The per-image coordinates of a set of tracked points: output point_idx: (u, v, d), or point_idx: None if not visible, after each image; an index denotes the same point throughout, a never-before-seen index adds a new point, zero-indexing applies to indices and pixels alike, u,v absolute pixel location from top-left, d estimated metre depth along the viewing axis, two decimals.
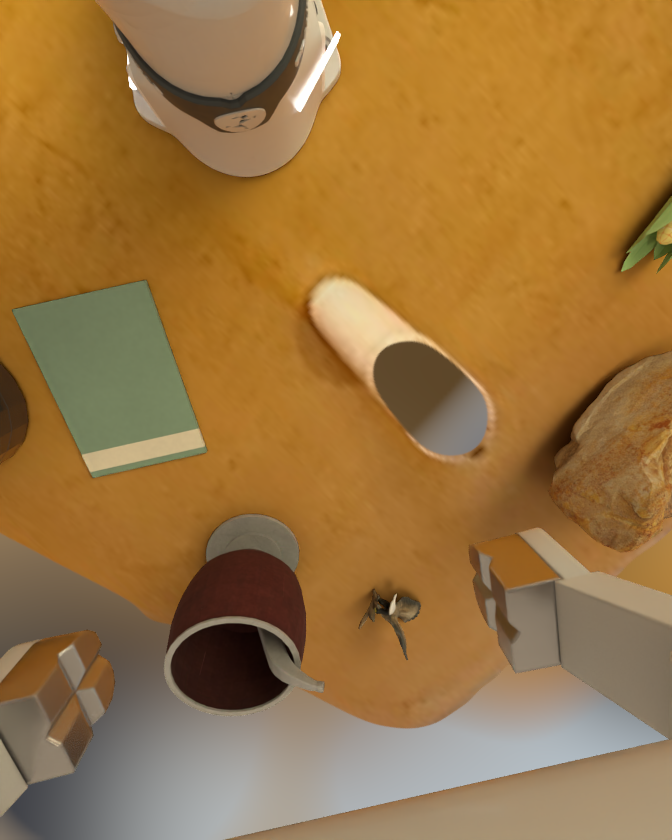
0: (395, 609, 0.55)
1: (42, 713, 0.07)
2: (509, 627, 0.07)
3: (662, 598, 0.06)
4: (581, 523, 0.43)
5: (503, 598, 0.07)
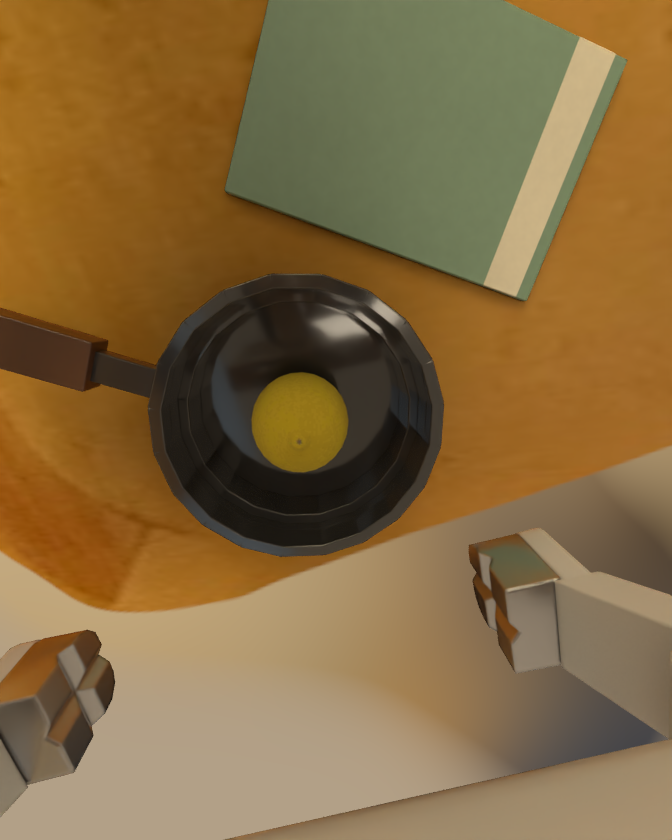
0: None
1: (42, 713, 0.07)
2: (509, 627, 0.07)
3: (662, 598, 0.06)
4: None
5: (503, 598, 0.07)
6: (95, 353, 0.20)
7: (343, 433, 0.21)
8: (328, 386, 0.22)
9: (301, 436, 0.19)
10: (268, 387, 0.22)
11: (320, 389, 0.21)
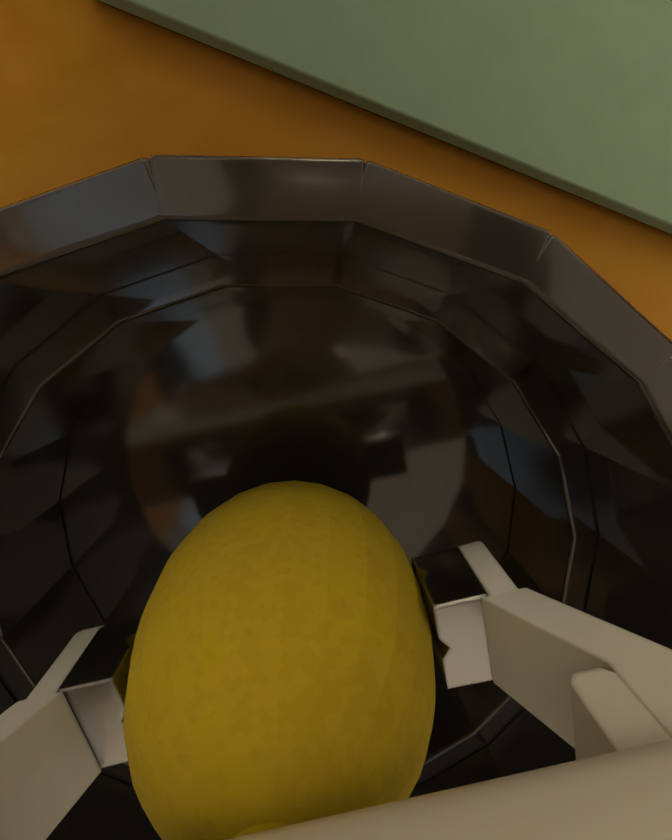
0: None
1: (119, 696, 0.07)
2: (441, 642, 0.07)
3: (578, 617, 0.06)
4: None
5: (433, 614, 0.07)
6: None
7: None
8: (376, 554, 0.07)
9: None
10: (184, 559, 0.07)
11: (354, 592, 0.06)
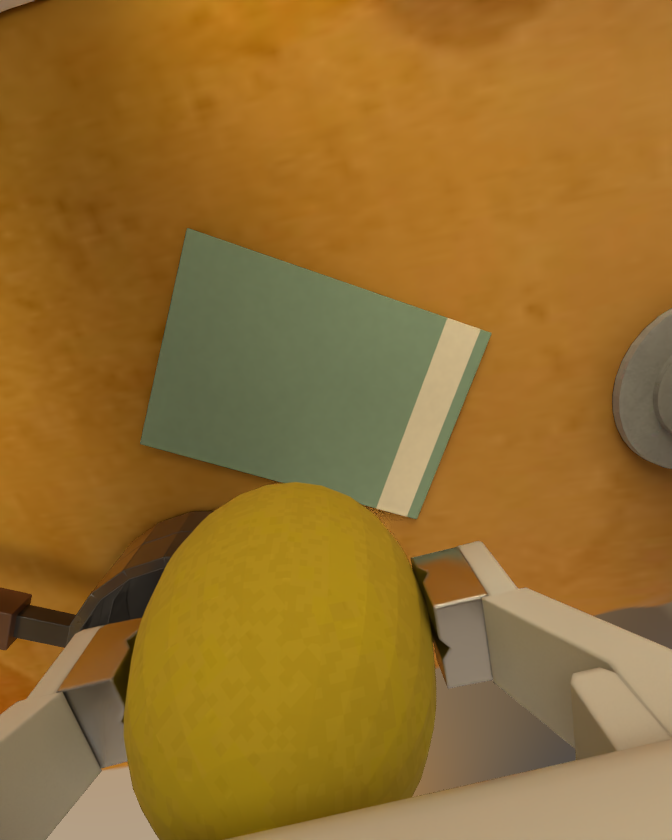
0: None
1: (119, 695, 0.07)
2: (442, 642, 0.07)
3: (578, 617, 0.06)
4: None
5: (433, 614, 0.07)
6: (17, 616, 0.24)
7: None
8: (377, 556, 0.07)
9: None
10: (184, 561, 0.07)
11: (355, 594, 0.06)
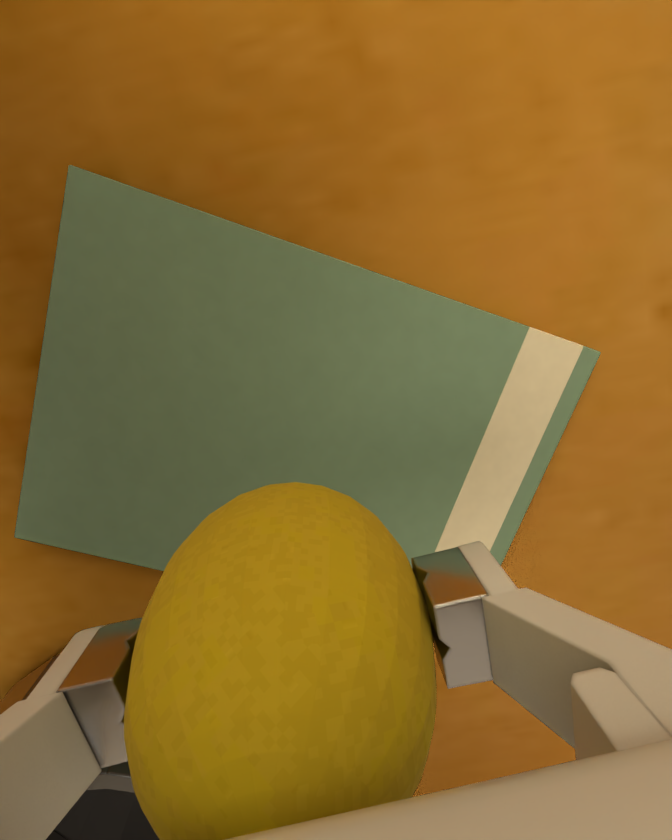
0: None
1: (119, 696, 0.07)
2: (441, 642, 0.07)
3: (578, 616, 0.06)
4: None
5: (433, 614, 0.07)
6: None
7: (432, 731, 0.06)
8: (377, 556, 0.07)
9: None
10: (185, 561, 0.07)
11: (356, 595, 0.06)
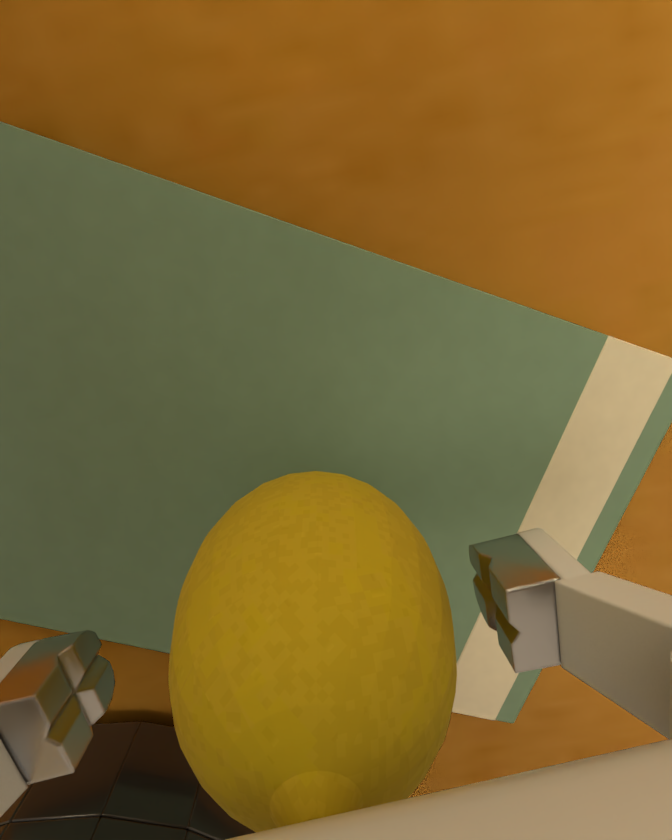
0: None
1: (42, 713, 0.07)
2: (509, 627, 0.07)
3: (662, 598, 0.06)
4: None
5: (503, 598, 0.07)
6: None
7: None
8: (398, 535, 0.07)
9: None
10: (219, 542, 0.07)
11: (381, 568, 0.06)
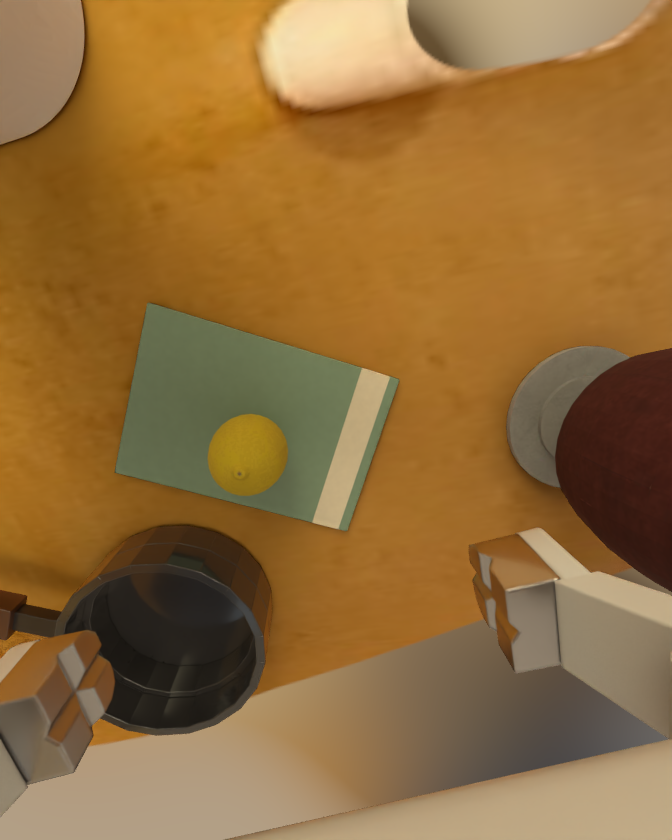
0: None
1: (42, 713, 0.07)
2: (509, 627, 0.07)
3: (662, 598, 0.06)
4: None
5: (503, 598, 0.07)
6: (15, 613, 0.30)
7: (279, 464, 0.27)
8: (268, 426, 0.28)
9: (240, 470, 0.25)
10: (220, 428, 0.28)
11: (259, 430, 0.27)
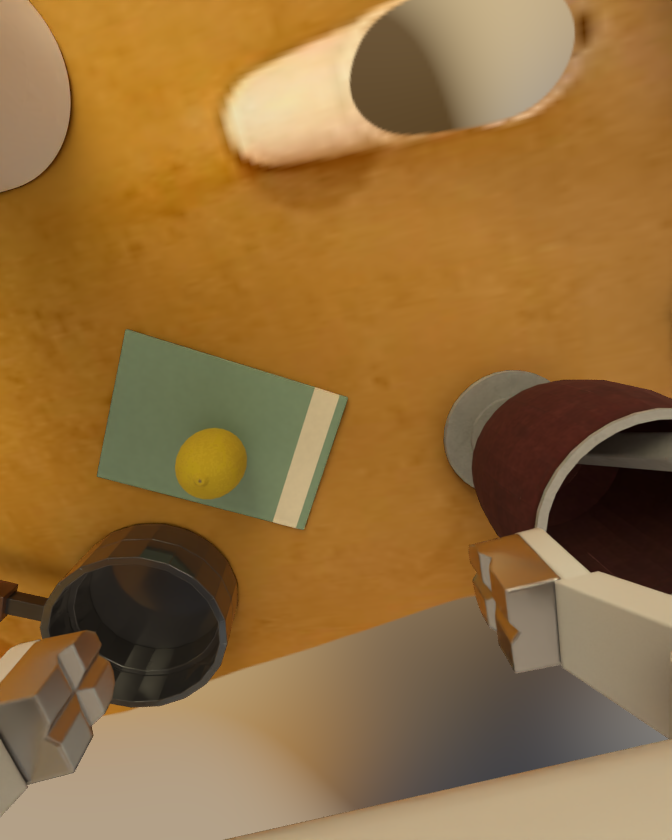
0: None
1: (42, 713, 0.07)
2: (509, 627, 0.07)
3: (662, 598, 0.06)
4: None
5: (503, 598, 0.07)
6: (7, 599, 0.34)
7: (236, 473, 0.32)
8: (227, 440, 0.32)
9: (200, 478, 0.29)
10: (186, 441, 0.32)
11: (219, 443, 0.31)
